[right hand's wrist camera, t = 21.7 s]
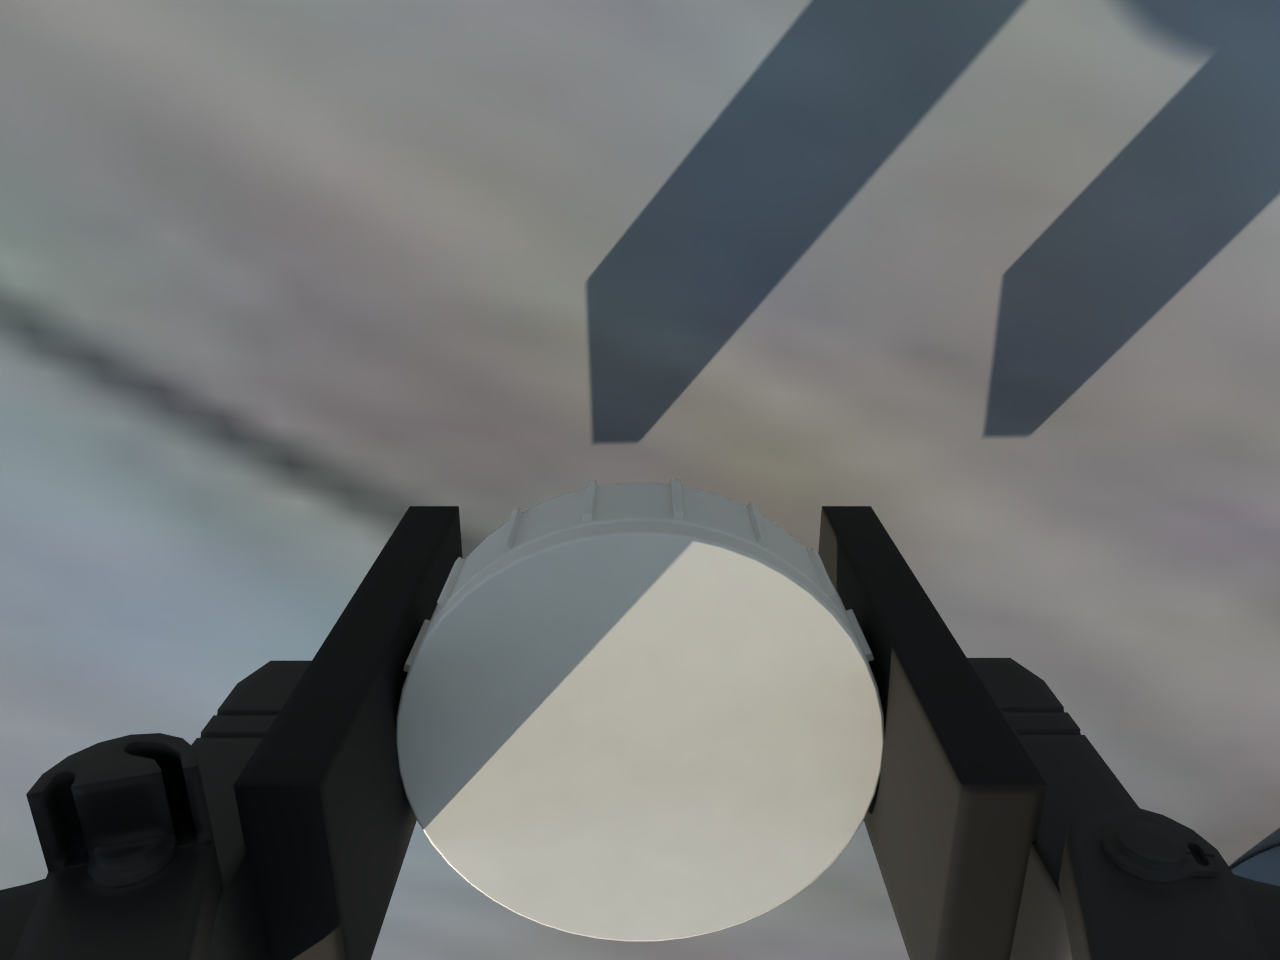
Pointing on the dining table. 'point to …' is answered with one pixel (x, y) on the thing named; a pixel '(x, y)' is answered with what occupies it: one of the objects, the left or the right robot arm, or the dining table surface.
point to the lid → (640, 715)
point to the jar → (1261, 867)
